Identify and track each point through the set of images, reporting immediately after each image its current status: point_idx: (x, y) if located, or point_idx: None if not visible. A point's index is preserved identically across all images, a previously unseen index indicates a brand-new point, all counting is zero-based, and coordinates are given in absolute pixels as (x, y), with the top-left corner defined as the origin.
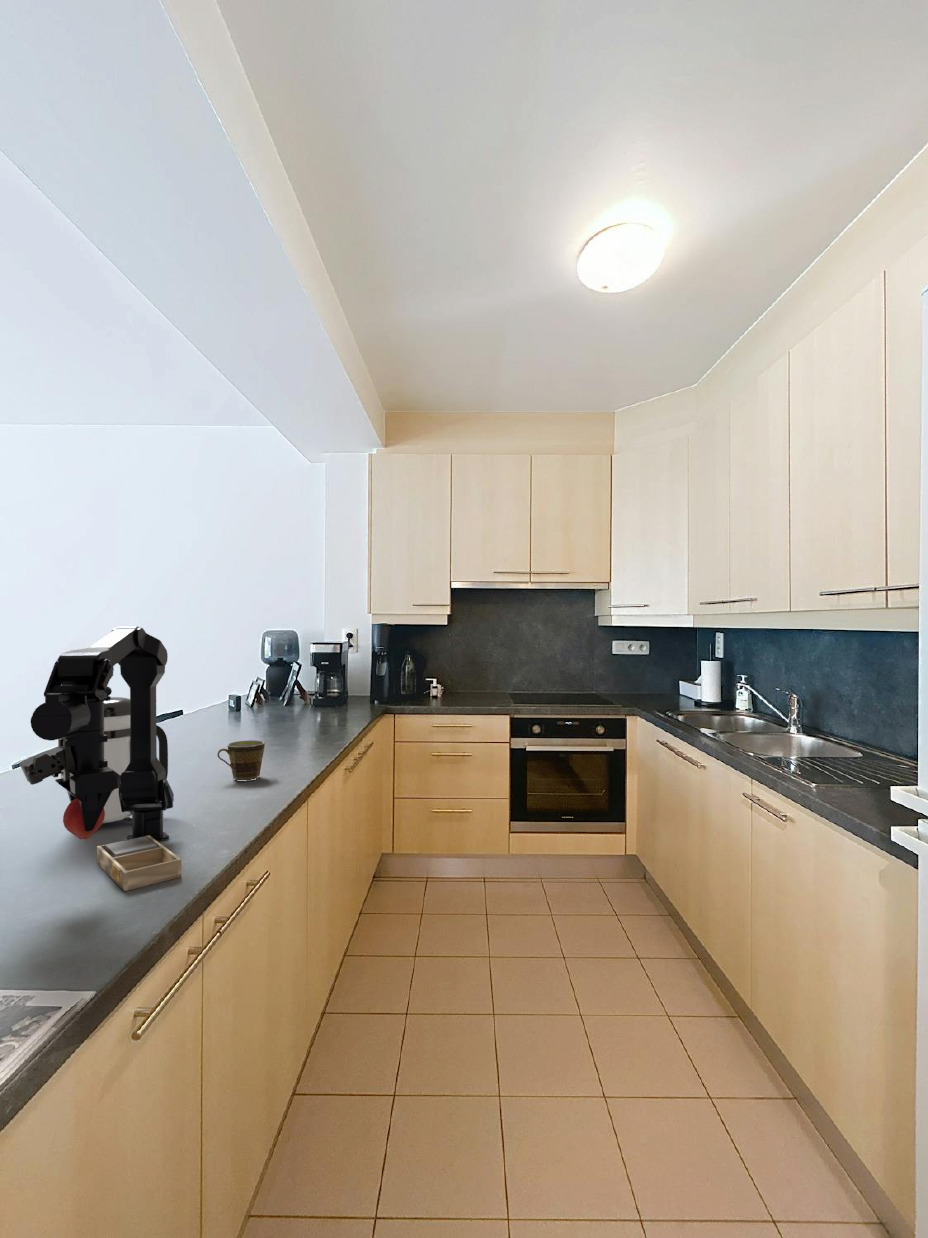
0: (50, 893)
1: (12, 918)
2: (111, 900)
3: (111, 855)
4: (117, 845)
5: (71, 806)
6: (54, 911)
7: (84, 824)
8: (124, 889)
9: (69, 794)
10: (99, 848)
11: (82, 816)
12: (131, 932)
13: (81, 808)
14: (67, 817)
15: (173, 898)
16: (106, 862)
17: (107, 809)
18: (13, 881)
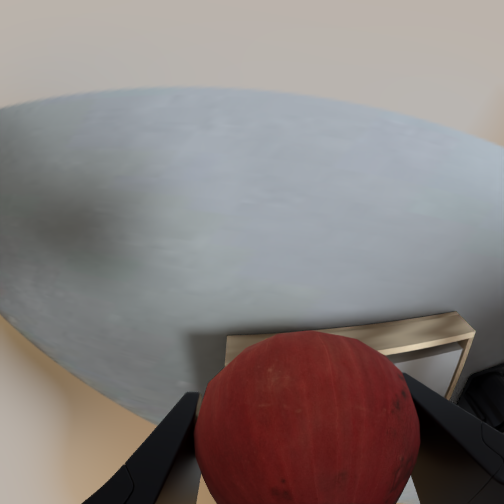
0: (346, 193)
1: (222, 91)
2: (188, 304)
3: (410, 352)
4: (436, 370)
5: (279, 470)
6: (200, 184)
7: (167, 415)
8: (227, 338)
9: (488, 468)
10: (459, 335)
11: (159, 447)
12: (20, 294)
13: (118, 486)
14: (261, 391)
15: (130, 385)
16: (394, 336)
17: None
18: (479, 144)
